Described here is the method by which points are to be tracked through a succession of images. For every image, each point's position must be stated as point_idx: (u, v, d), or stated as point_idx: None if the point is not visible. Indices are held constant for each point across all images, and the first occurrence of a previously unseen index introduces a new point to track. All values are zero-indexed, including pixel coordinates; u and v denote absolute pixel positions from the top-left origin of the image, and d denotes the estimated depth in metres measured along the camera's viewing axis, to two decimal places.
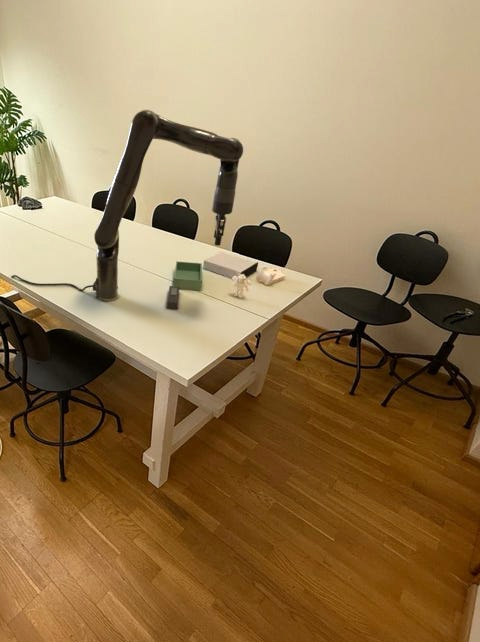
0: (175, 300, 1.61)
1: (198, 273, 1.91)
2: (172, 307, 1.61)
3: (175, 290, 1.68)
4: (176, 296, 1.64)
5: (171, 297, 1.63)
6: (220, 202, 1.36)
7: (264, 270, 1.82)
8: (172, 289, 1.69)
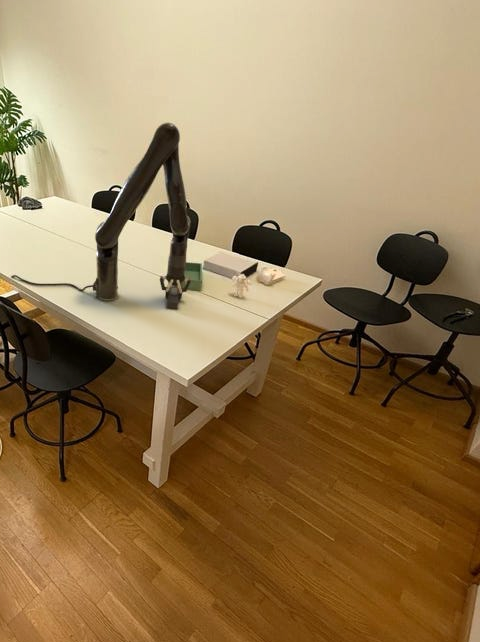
0: (175, 300, 1.61)
1: (198, 273, 1.91)
2: (172, 307, 1.61)
3: (175, 290, 1.68)
4: (176, 296, 1.64)
5: (171, 297, 1.63)
6: None
7: (264, 270, 1.82)
8: (172, 289, 1.69)
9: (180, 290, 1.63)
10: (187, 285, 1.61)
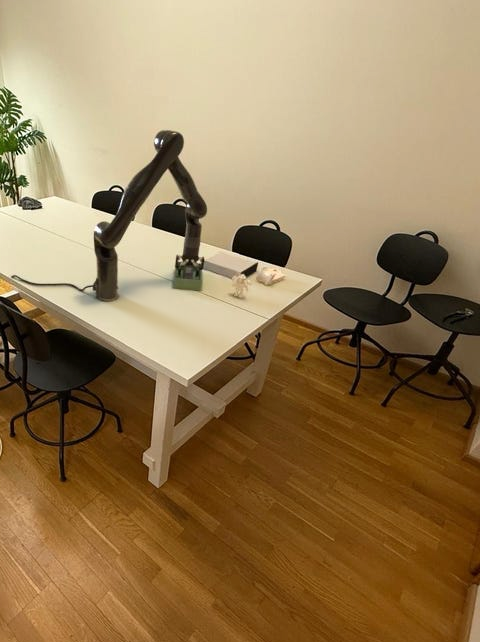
0: (190, 278, 1.78)
1: None
2: None
3: (189, 270, 1.86)
4: (191, 274, 1.81)
5: (186, 275, 1.81)
6: None
7: (264, 270, 1.82)
8: (186, 269, 1.86)
9: (197, 268, 1.80)
10: (202, 263, 1.78)
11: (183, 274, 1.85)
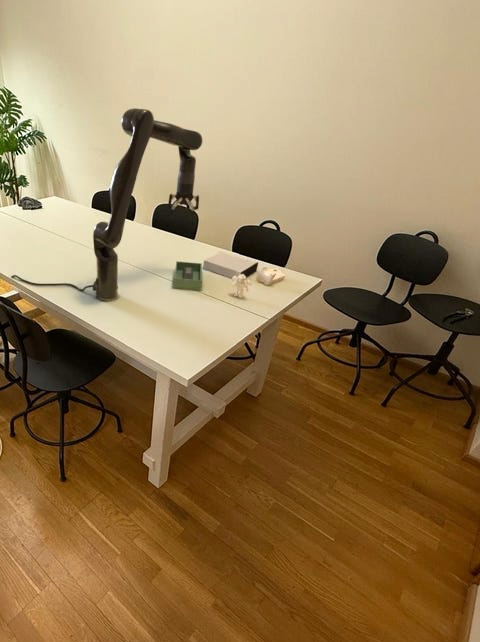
0: (190, 278, 1.78)
1: (198, 273, 1.91)
2: None
3: (189, 270, 1.86)
4: (191, 274, 1.81)
5: (186, 275, 1.81)
6: None
7: (264, 270, 1.82)
8: (186, 269, 1.86)
9: (192, 208, 1.73)
10: (197, 201, 1.71)
11: (183, 274, 1.85)
